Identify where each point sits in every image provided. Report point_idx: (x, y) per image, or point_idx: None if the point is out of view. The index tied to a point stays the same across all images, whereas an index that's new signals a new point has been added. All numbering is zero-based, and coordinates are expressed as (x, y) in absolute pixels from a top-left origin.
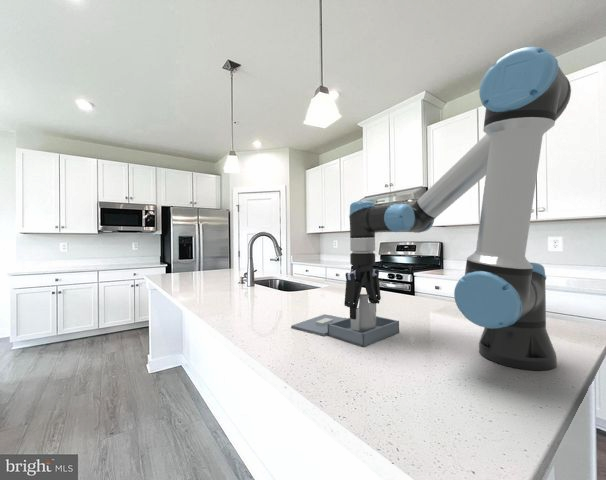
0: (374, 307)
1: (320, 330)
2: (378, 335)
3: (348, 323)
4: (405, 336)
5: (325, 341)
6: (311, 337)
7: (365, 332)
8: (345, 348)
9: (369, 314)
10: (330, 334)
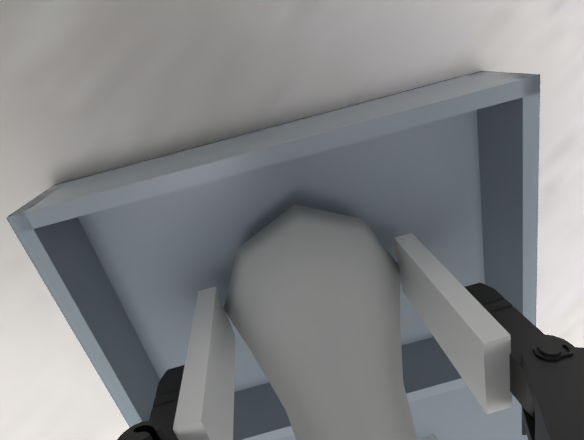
0: (204, 390)
1: None
2: (320, 121)
3: None
4: (65, 90)
5: (562, 254)
6: (568, 331)
7: (490, 100)
8: (570, 111)
9: (325, 298)
10: None
